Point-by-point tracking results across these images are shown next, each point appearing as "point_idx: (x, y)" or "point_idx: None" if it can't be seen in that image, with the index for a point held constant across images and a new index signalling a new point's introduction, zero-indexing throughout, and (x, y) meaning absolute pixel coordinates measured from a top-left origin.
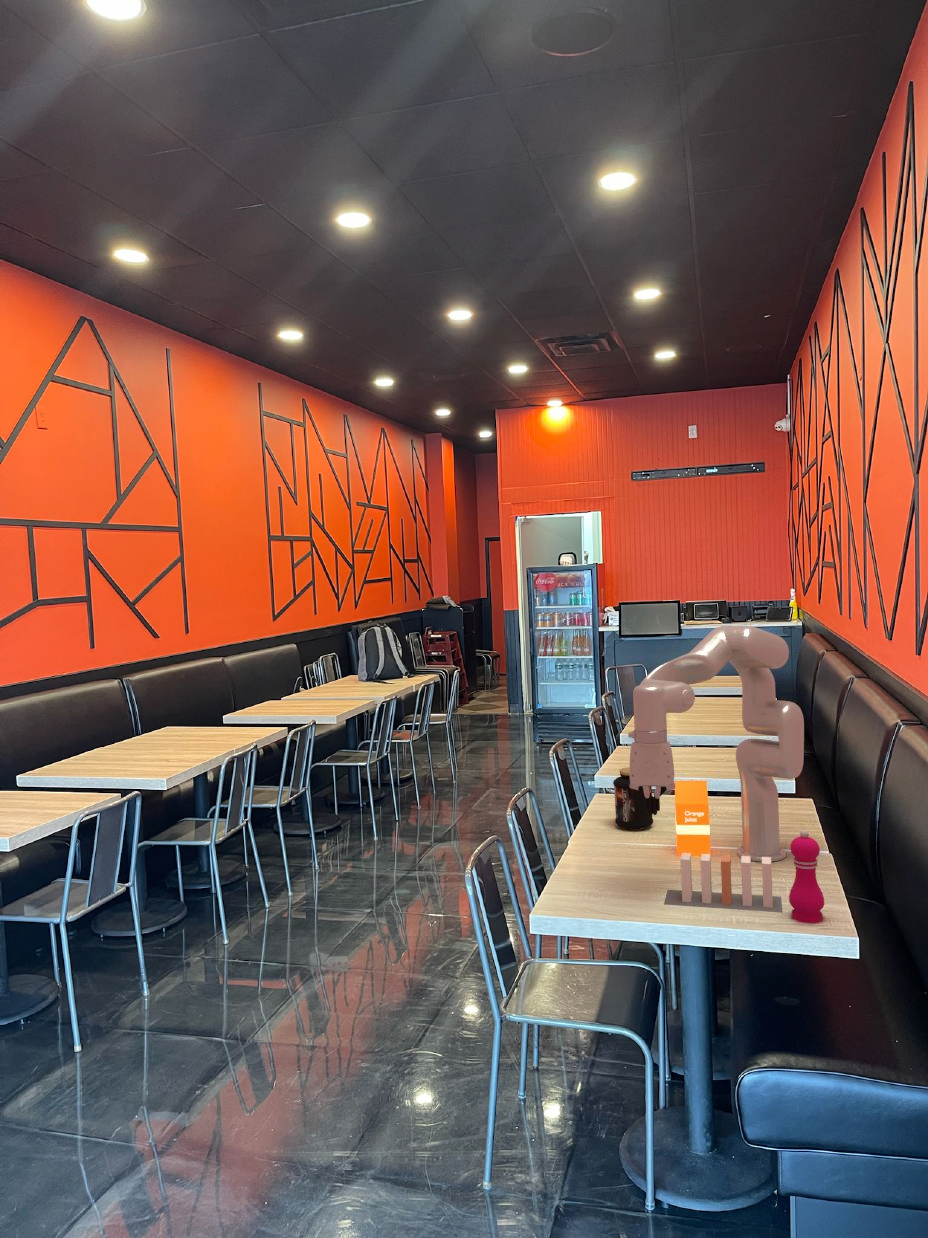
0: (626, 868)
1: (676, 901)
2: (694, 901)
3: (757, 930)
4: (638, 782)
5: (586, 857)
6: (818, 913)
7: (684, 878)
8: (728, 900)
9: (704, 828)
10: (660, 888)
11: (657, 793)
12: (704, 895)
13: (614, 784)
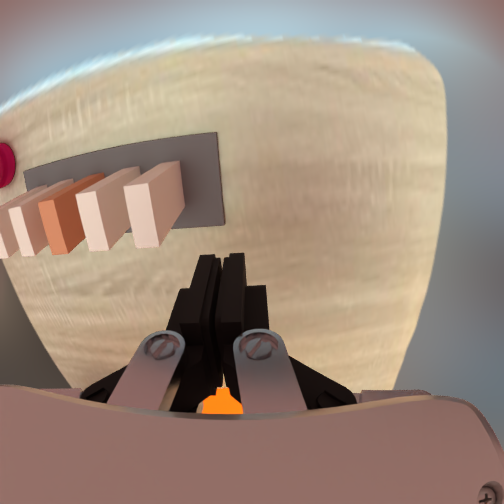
0: (323, 326)
1: (191, 157)
2: None
3: (46, 88)
4: (391, 438)
5: (388, 350)
6: None
7: (156, 171)
8: (89, 176)
9: None
10: (243, 241)
11: (151, 364)
12: (127, 170)
13: None
